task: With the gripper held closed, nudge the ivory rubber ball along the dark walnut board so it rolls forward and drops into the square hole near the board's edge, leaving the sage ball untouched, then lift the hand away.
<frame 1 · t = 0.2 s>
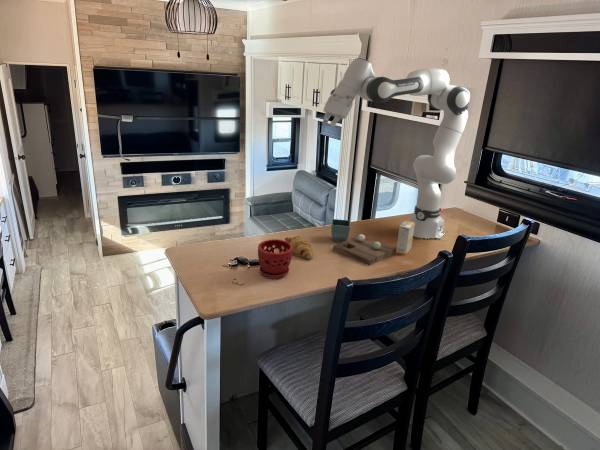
hand: (327, 124, 175), 54 cm above the counter, tool tilted 30°, fingers open, 8 cm apart
sage ball: (377, 245, 182), point 4 cm above the counter, touching board
board: (362, 252, 185), on the counter
plant pot: (274, 274, 161), on the counter
supplement box: (403, 251, 189), on the counter
ivory ball: (361, 237, 190), point 4 cm above the counter, touching board
croissant: (298, 252, 182), on the counter
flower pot: (339, 240, 197), on the counter
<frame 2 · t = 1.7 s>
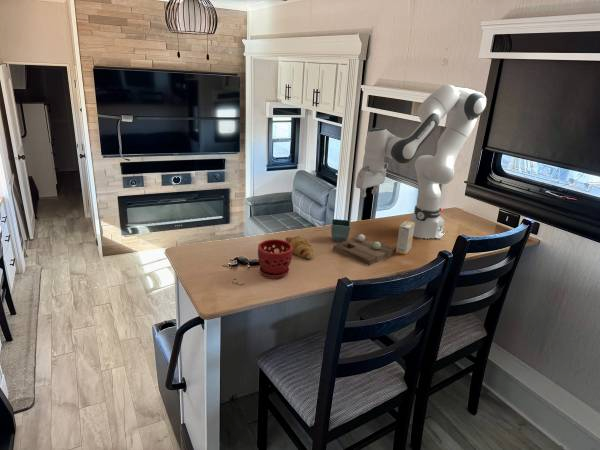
hand: (368, 195, 186), 24 cm above the counter, tool pointing down, fingers open, 8 cm apart
nothing on the counter moved.
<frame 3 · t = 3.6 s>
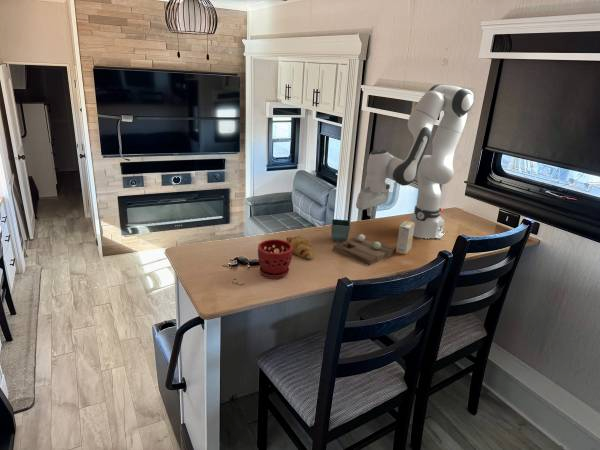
hand: (370, 215, 190), 14 cm above the counter, tool pointing down, fingers closed
nothing on the counter moved.
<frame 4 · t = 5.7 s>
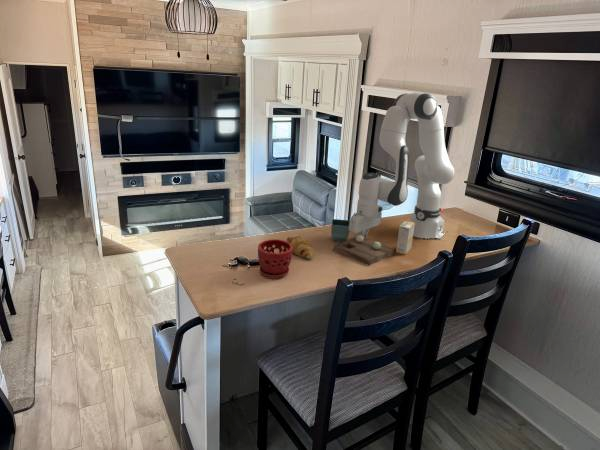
hand: (363, 237, 191), 4 cm above the counter, tool pointing down, fingers closed
ivory ball: (359, 238, 189), point 4 cm above the counter, tilted 45°, touching board, gripper
everything else where it was.
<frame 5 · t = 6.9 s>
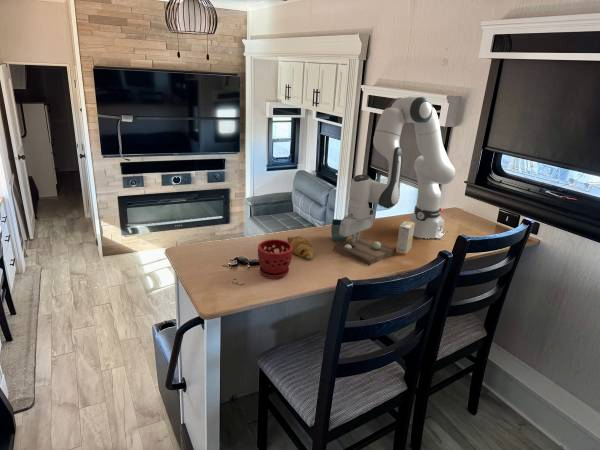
hand: (354, 241, 187), 4 cm above the counter, tool pointing down, fingers closed
ivory ball: (347, 248, 184), point 2 cm above the counter
everything else where it was.
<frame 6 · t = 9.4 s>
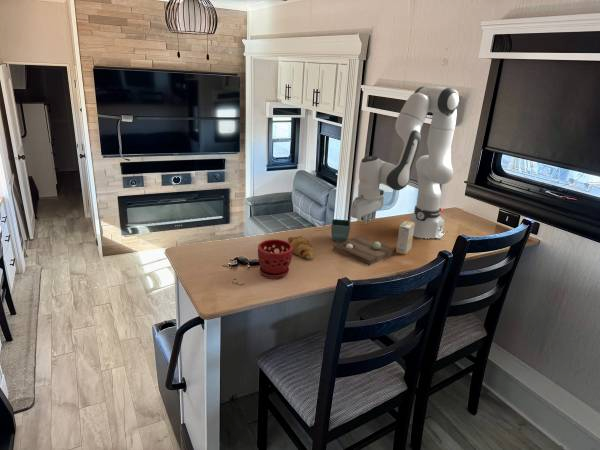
hand: (366, 222, 188), 11 cm above the counter, tool pointing down, fingers closed
ivory ball: (349, 247, 185), point 2 cm above the counter, tilted 34°
everything else where it was.
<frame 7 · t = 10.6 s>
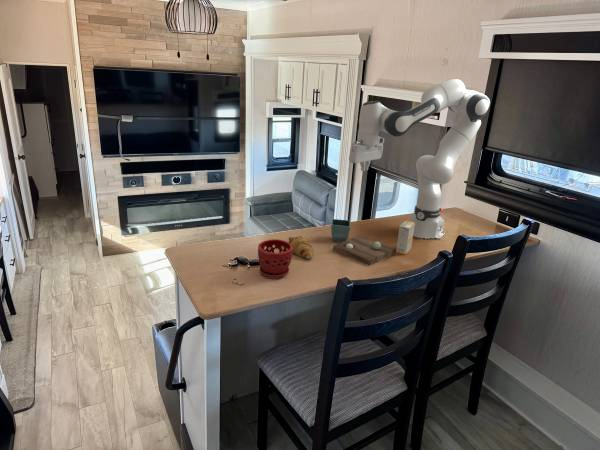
hand: (364, 170, 185), 34 cm above the counter, tool pointing down, fingers closed
nothing on the counter moved.
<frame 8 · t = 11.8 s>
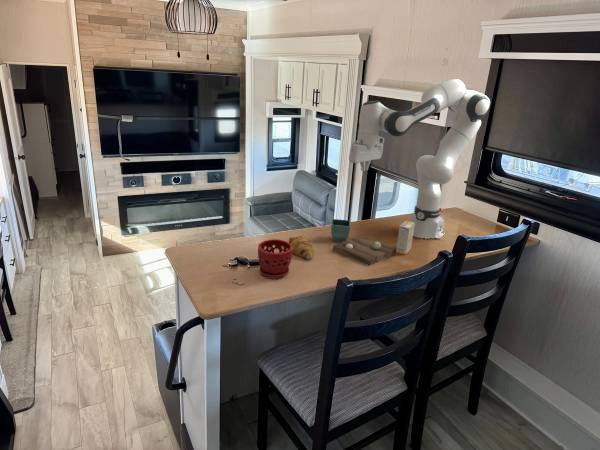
hand: (364, 170, 186), 34 cm above the counter, tool pointing down, fingers closed
nothing on the counter moved.
at the end: ivory ball 0.4 cm from the target spot on the board, point 1.7 cm above the board's base; sage ball moved 0.0 cm from its start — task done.
